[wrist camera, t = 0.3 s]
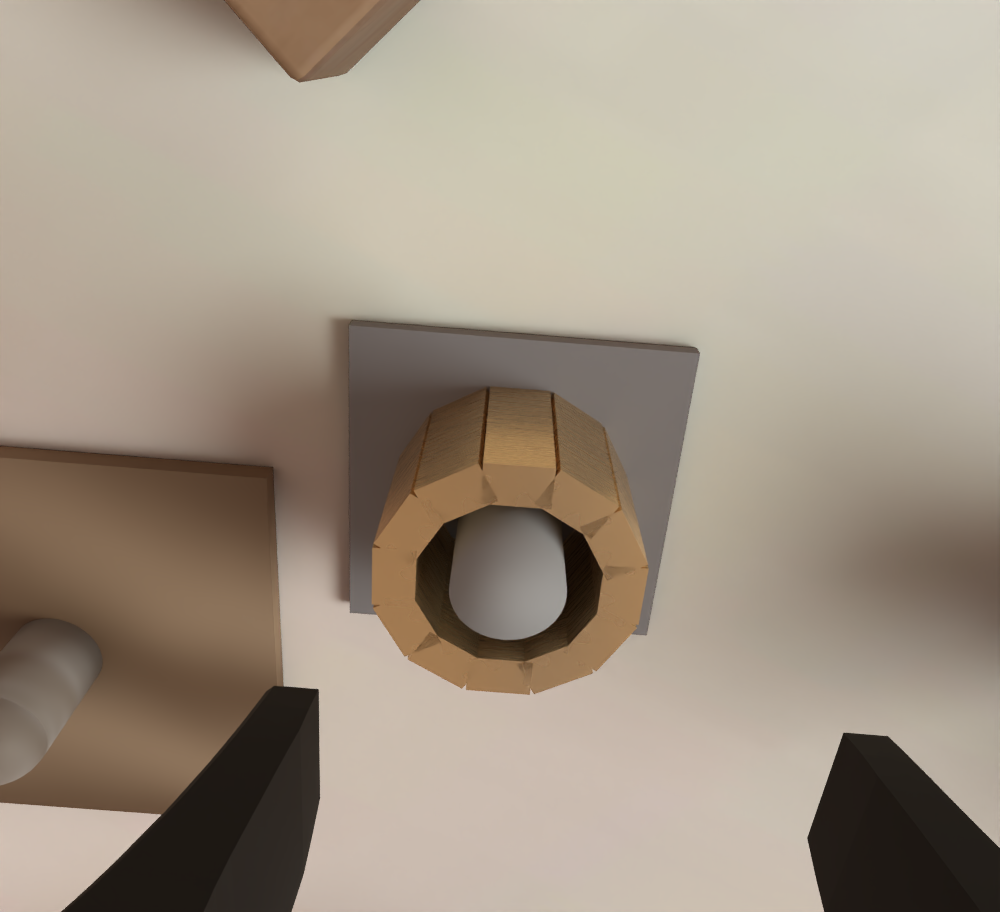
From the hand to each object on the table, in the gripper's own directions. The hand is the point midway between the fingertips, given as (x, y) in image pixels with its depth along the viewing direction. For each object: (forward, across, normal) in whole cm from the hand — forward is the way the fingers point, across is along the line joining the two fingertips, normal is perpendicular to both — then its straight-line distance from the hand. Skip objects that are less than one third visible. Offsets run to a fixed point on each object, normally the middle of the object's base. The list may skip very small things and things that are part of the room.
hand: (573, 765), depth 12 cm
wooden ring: (+10, +1, +1) cm, 10 cm away
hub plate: (+10, +13, +7) cm, 18 cm away
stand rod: (+10, +1, +1) cm, 10 cm away
